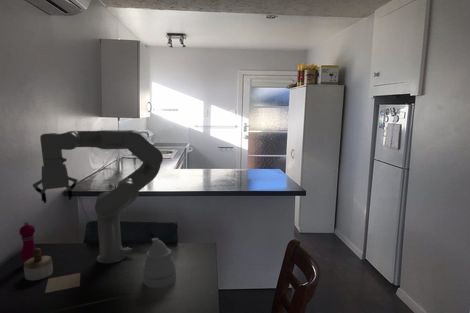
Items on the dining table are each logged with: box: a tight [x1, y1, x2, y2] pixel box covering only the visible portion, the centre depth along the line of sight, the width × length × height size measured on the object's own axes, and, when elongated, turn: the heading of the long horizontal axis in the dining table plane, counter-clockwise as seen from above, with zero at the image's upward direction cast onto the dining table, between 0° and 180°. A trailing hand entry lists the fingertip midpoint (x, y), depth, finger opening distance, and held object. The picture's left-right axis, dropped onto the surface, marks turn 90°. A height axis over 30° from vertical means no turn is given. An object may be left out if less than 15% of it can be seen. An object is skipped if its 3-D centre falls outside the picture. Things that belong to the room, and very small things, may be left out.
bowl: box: [23, 261, 54, 281], centre depth 145 cm, size 10×10×6 cm
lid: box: [23, 247, 53, 269], centre depth 145 cm, size 10×10×6 cm
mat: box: [44, 272, 81, 294], centre depth 139 cm, size 12×12×1 cm
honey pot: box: [142, 237, 177, 289], centre depth 139 cm, size 13×13×18 cm
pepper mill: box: [19, 221, 37, 268], centre depth 155 cm, size 7×7×20 cm
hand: (57, 200), depth 151 cm, fingers open, 9 cm apart
